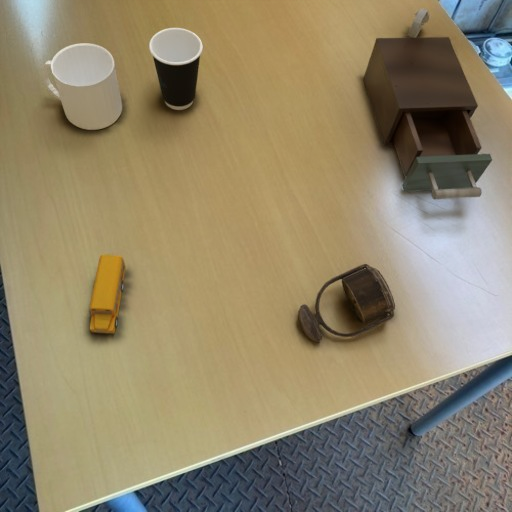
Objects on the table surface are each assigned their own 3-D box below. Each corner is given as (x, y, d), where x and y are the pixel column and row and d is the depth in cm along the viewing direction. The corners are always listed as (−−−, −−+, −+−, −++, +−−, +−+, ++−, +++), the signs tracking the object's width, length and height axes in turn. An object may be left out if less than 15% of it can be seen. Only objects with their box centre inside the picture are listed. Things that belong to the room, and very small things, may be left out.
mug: (133, 101, 90) (125, 56, 82) (102, 138, 86) (92, 94, 78) (70, 76, 92) (57, 29, 84) (38, 111, 87) (20, 65, 79)
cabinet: (455, 143, 91) (478, 105, 84) (383, 146, 90) (399, 108, 82) (430, 76, 99) (448, 36, 91) (363, 78, 97) (376, 37, 90)
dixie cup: (212, 95, 92) (212, 41, 83) (184, 124, 89) (182, 71, 79) (173, 75, 94) (169, 20, 84) (145, 103, 90) (138, 48, 80)
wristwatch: (424, 30, 105) (434, 7, 101) (415, 45, 103) (424, 22, 98) (410, 24, 105) (419, 1, 101) (401, 39, 103) (409, 16, 99)
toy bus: (90, 334, 70) (84, 323, 67) (103, 267, 75) (99, 253, 71) (115, 336, 70) (111, 324, 67) (127, 268, 75) (123, 255, 72)
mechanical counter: (412, 335, 68) (403, 257, 70) (312, 335, 65) (308, 255, 68) (388, 342, 74) (381, 271, 77) (297, 343, 72) (293, 270, 75)
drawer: (482, 211, 84) (503, 184, 78) (410, 215, 82) (426, 188, 76) (446, 118, 93) (462, 88, 87) (381, 120, 91) (394, 90, 85)
